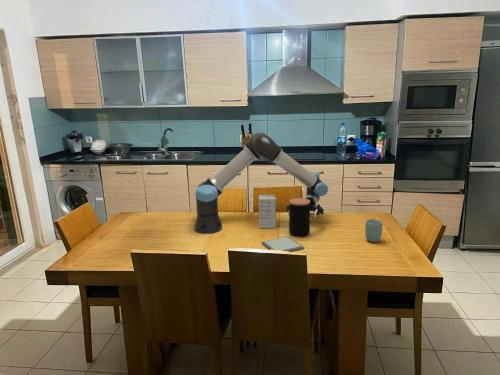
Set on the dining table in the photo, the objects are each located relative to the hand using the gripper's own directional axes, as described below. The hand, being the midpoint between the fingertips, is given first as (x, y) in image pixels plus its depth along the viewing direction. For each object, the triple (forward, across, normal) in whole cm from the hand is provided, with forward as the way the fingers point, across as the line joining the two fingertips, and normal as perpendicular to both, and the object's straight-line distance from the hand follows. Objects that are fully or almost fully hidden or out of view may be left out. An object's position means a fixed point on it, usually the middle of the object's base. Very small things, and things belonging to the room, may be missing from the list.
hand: (301, 214), depth 193 cm
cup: (+2, -36, -10) cm, 38 cm away
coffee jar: (+3, +1, -10) cm, 10 cm away
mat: (+21, +5, -10) cm, 24 cm away
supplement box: (-5, +20, -10) cm, 23 cm away
